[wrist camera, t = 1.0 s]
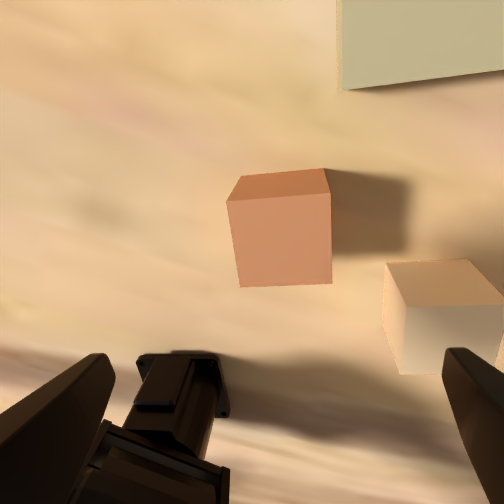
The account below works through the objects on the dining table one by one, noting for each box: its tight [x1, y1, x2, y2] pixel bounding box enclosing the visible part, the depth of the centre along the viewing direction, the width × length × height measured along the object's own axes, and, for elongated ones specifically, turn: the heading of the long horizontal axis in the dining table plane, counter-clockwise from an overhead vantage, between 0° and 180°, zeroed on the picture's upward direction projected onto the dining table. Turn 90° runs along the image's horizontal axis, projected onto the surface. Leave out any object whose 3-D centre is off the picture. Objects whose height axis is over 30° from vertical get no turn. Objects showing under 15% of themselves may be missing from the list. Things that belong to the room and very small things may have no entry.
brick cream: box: [382, 259, 504, 375], centre depth 19 cm, size 4×4×4 cm
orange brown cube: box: [226, 168, 332, 287], centre depth 17 cm, size 4×4×4 cm
